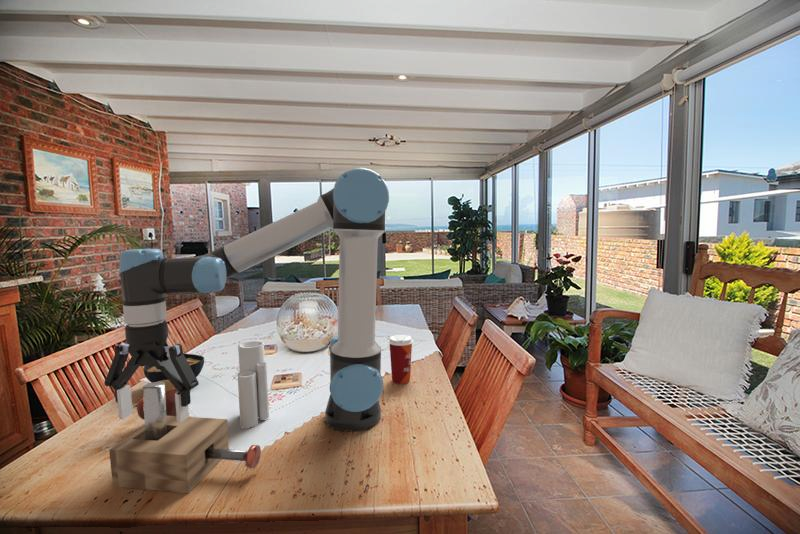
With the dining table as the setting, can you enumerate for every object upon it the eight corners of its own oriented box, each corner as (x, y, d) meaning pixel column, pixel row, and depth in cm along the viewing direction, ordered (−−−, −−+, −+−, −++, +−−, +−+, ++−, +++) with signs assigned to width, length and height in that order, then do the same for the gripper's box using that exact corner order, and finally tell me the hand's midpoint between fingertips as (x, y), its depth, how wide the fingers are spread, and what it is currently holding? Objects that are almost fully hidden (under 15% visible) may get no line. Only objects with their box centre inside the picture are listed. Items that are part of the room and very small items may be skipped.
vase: (242, 410, 109) (238, 342, 107) (268, 406, 112) (265, 339, 109) (239, 429, 99) (235, 355, 96) (269, 424, 101) (265, 351, 99)
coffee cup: (413, 385, 125) (413, 341, 123) (388, 385, 125) (387, 341, 123) (412, 375, 133) (412, 334, 132) (389, 375, 133) (388, 334, 132)
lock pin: (261, 460, 83) (260, 440, 82) (250, 473, 79) (249, 452, 78) (203, 455, 85) (202, 437, 84) (190, 468, 80) (189, 448, 80)
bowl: (190, 373, 137) (188, 346, 136) (215, 384, 127) (213, 355, 126) (136, 389, 124) (133, 360, 123) (159, 403, 114) (157, 371, 113)
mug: (164, 413, 108) (161, 378, 107) (191, 416, 106) (188, 380, 105) (126, 436, 96) (122, 397, 95) (155, 439, 94) (152, 400, 93)
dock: (229, 451, 89) (227, 419, 88) (188, 493, 75) (186, 455, 74) (163, 446, 91) (161, 415, 90) (112, 486, 77) (109, 449, 77)
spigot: (171, 442, 85) (169, 382, 84) (158, 453, 81) (155, 390, 80) (155, 441, 86) (152, 381, 84) (141, 451, 82) (138, 388, 80)
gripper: (212, 319, 82) (218, 412, 85) (109, 316, 86) (117, 406, 88) (188, 328, 75) (196, 430, 77) (77, 325, 78) (87, 423, 80)
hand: (154, 418), depth 83 cm, fingers open, 13 cm apart
